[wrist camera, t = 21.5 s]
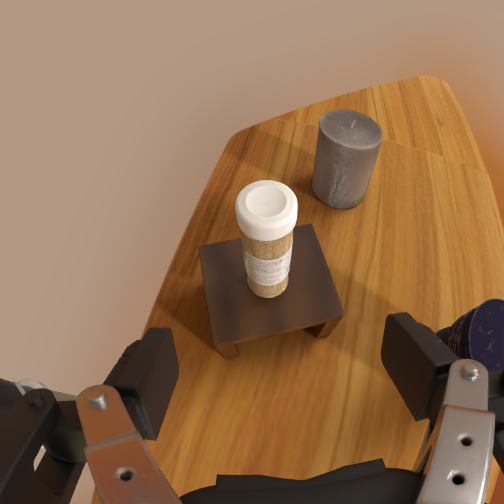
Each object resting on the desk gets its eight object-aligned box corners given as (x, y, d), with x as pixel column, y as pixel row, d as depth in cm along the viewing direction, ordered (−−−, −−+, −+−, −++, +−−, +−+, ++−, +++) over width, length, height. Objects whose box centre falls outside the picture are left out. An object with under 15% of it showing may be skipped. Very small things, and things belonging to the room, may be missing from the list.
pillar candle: (365, 176, 52) (384, 111, 39) (362, 216, 48) (386, 148, 35) (315, 164, 54) (323, 97, 41) (305, 202, 49) (314, 131, 36)
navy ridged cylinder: (396, 358, 36) (452, 327, 23) (443, 324, 37) (502, 282, 24) (425, 416, 31) (492, 408, 18) (471, 377, 32) (538, 352, 19)
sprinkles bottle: (258, 256, 34) (251, 170, 23) (295, 270, 33) (307, 188, 22) (239, 289, 32) (222, 213, 21) (278, 306, 31) (283, 235, 20)
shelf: (226, 359, 37) (213, 344, 30) (211, 278, 43) (198, 246, 36) (329, 335, 38) (344, 314, 30) (305, 258, 44) (311, 223, 36)
